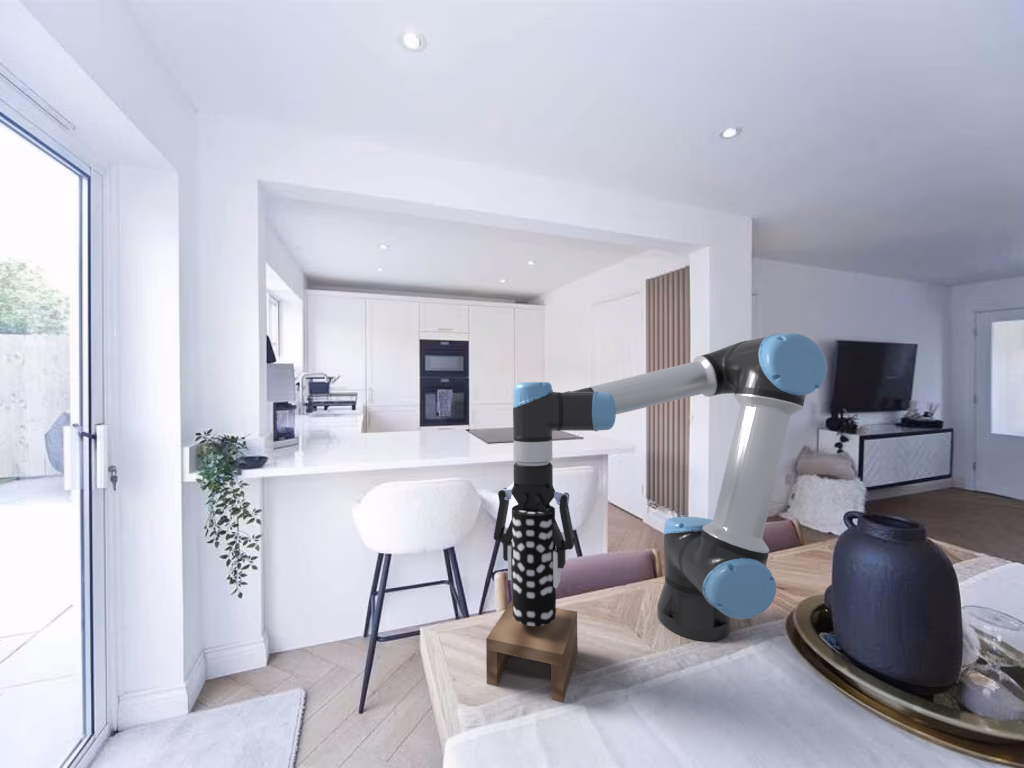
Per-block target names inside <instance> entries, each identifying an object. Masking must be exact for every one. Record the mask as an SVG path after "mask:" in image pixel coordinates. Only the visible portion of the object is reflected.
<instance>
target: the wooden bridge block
mask: <svg viewBox="0 0 1024 768" xmlns="http://www.w3.org/2000/svg"><path fill="white" fill-rule="evenodd" d="M485 645H486V648H485V649H486V651H485V652H486V654H485V655H486V659H485V660H486V662H485V663H486V684H488V685H492V686H496V687H497V686H498V684H499V682H500V681H501V679H502V677H503V675H504V673H505V671H506V670H507V667H508V665H509V663H510V662H511V660H512V659H513V657H519V658H522V659H527V660H532V661H536V662H539V663H540V662H541V663H544V664H545V663H546V664H550V669H551V670H550V671H551V675H550V676H551V677H550V679H551V682H550V683H551V684H550V685H551V688H550V689H551V691H550V692H551V693H550V695H551V700H552V701H556V702H560V703H564V700H565V697H566V693H567V689H568V686H569V684H570V679H571V676H572V672H573V669H574V665H575V662H576V658H577V654H578V611H575V610H569V609H564V608H558V607H556V617H555V619H554V620H553V621H552V622H551V623H549V624H546V625H542V626H528V625H524V624H521V623H519V622H518V621H516V620H515V619H514V617H513V599H512V600H511V601H510V602H509V604H508V605H507V607H506V608H505V609H504V611H503V613H502V614H501V615H500V618H499V619H498V620H497V622H496V623H495V625H494V626H493V628H492V629H491V631H490V632H489V634H488V635H487V637H486V642H485Z"/></svg>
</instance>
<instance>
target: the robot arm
mask: <svg viewBox="0 0 1024 768" xmlns="http://www.w3.org/2000/svg"><path fill="white" fill-rule="evenodd" d="M827 373H828V363H827V359H826V356H825V354H824V352H823V350H822V349H820V348H819V345H818V344H817V343H816V342H815V341H814V340H813V339H811V338H810V337H808V336H806V335H804V334H801V333H800V334H799V333H795V332H788V333H773V334H770V335H768V336H763V337H759V338H755V339H749V340H744V341H740V342H737V343H734V344H731V345H728V346H726V347H723V348H720V349H718V350H714V351H712V352H709V353H705V354H702V355H699V356H698V355H697V356H695V358H694V359H693V361H692V362H687V363H684V364H679V365H675V366H670V367H667V368H662V369H657V370H655V371H649V372H646V373H642V374H638V375H634V376H630V377H625V378H622V379H617V380H613V381H610V382H605V383H600V384H596V385H593V386H589V387H585V388H581V389H575V390H569V391H565V392H564V391H563V392H557V391H553V387H552V383H550V382H548V381H547V382H545V381H544V382H543V381H542V382H540V381H539V382H538V381H537V382H536V381H535V382H534V381H532V382H530V381H529V382H527V381H526V382H524V381H523V382H518V383H517V384H515V385H514V386H513V396H512V398H513V399H512V400H513V401H512V422H513V423H512V425H513V426H512V427H513V434H512V435H513V443H512V445H513V460H514V462H515V463H514V464H513V486H512V488H506V487H503V488H502V489H500V490H499V491H498V493H497V496H498V501H499V502H498V510H497V514H496V520H495V521H496V522H495V526H494V527H495V528H494V533H493V540H494V541H498V542H500V543H501V544H502V553H503V554H502V558H503V560H504V561H506V562H507V581H511V582H512V519H511V520H510V522H509V524H508V527H507V529H506V523H507V517H508V510H509V505H510V500H511V499H512V496H513V499H515V501H516V503H517V504H516V505H517V507H516V510H521V511H522V510H523V509H524V510H533V511H540V512H542V513H547V512H548V511H549V510H550V509H551V506H552V505H551V504H550V503H551V502H552V501H553V499H554V500H555V501H556V502H555V503H556V505H558V506H559V507H558V508H559V515H560V520H561V526H562V530H563V534H562V532H561V528H560V527H559V525H558V523H557V521H556V519H555V523H552V539H553V541H554V543H555V550H554V551H553V587H556V589H557V588H558V587H559V586H560V583H561V569H564V567H565V565H566V561H567V560H566V551H567V550H570V551H571V550H572V549H573V548H574V547H575V544H576V539H575V538H576V537H575V534H574V528H573V525H572V518H571V513H570V508H569V500H570V494H569V492H564V493H562V492H557V491H556V490H555V488H554V476H553V475H554V474H553V473H554V471H553V470H554V469H553V464H552V462H551V461H552V460H553V431H556V432H560V431H562V432H563V431H569V432H570V431H575V432H576V431H580V432H581V431H582V432H583V431H585V432H586V431H587V432H590V431H592V432H593V431H594V432H599V431H608V430H611V429H612V428H613V427H614V426H615V423H616V418H617V417H616V416H617V415H619V414H624V413H628V412H632V411H636V410H640V409H645V408H649V407H653V406H656V405H662V404H666V403H671V402H673V401H679V400H682V399H687V398H691V397H695V396H699V395H702V396H705V397H714V396H717V395H719V396H720V395H722V394H723V395H725V394H734V395H733V397H734V399H735V400H736V402H737V403H738V404H739V409H738V415H737V419H736V423H735V428H734V432H733V436H732V440H731V444H730V449H729V453H728V457H727V462H726V466H725V470H724V473H723V478H722V480H721V481H722V482H721V486H720V491H719V494H718V499H717V503H716V507H715V511H714V517H713V519H710V518H704V517H698V516H673V517H670V518H667V519H666V520H665V522H664V524H663V525H664V526H663V527H664V529H663V533H662V534H663V546H664V547H663V550H664V552H663V553H664V557H663V558H664V584H663V587H662V590H661V592H660V595H659V598H658V601H657V605H656V607H657V608H656V609H657V611H656V613H657V618H658V620H659V622H660V624H662V626H664V627H665V628H666V629H668V630H670V631H671V632H673V633H675V634H677V635H680V636H681V637H685V638H688V639H691V640H697V641H703V642H705V641H707V642H711V641H712V642H713V641H719V640H722V639H725V638H726V637H727V636H728V635H730V632H731V618H732V619H737V620H749V619H752V618H755V617H756V616H757V615H758V614H759V615H762V614H763V613H764V612H766V610H768V609H769V607H770V606H771V605H772V603H773V601H774V599H775V597H776V592H777V583H776V580H775V578H774V576H773V573H772V572H771V570H770V569H769V568H768V567H767V563H768V558H769V555H770V548H769V546H768V545H767V543H766V542H765V541H764V532H765V530H766V529H765V527H766V523H767V519H768V516H769V511H770V507H771V503H772V502H771V501H772V498H773V493H774V490H775V485H776V481H777V478H778V477H777V476H778V472H779V468H780V464H781V460H782V457H783V456H782V454H783V451H784V446H785V444H786V443H785V442H786V438H787V436H788V435H787V434H788V429H789V425H790V422H791V417H792V416H793V415H794V414H797V413H798V412H800V411H801V410H803V408H804V403H805V399H806V396H807V395H809V394H811V393H813V392H815V391H816V390H817V389H819V388H820V387H821V386H822V385H823V383H824V382H825V381H826V377H827ZM550 505H551V506H550ZM546 508H548V510H546ZM505 529H506V532H505Z"/></svg>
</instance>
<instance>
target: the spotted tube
mask: <svg viewBox="0 0 1024 768" xmlns="http://www.w3.org/2000/svg"><path fill="white" fill-rule="evenodd" d="M517 505H518V504H516V505H514V506H512V507H511V520H512V540H511V542H512V581H511V582H512V586H511V587H512V600H513V617H514V619H515V620H516V621H518V622H519V623H521V624H524V625H528V626H542V625H546V624H549V623H551V622H552V621H553V620H554V619H555V617H556V608H557V594H556V593H557V588H556V587H553V551H554V550H555V548H556V546H555V543H554V541H553V539H552V523H555V520H556V508H555V507H554V506H552V505H551V504H550V506H551V509H550V510H549V511H548V512H547V513H542V512H540V511H533V510H524V509H523V510H522V511H521V510H516V507H517ZM546 510H548V508H546Z"/></svg>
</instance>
